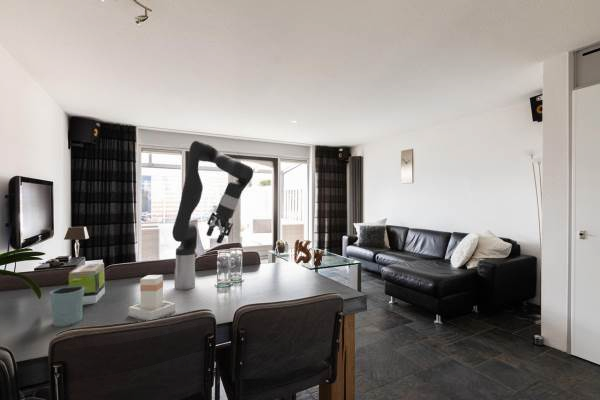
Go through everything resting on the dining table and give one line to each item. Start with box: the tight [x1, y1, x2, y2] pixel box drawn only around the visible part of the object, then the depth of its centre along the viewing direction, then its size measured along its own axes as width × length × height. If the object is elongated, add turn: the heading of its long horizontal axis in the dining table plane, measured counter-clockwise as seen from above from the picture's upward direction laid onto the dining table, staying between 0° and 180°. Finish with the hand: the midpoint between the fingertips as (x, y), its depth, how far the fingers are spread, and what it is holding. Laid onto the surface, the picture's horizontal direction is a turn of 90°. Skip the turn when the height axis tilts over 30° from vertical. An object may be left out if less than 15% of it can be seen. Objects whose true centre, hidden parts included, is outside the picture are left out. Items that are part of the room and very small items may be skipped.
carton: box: [139, 274, 164, 311], centre depth 117 cm, size 6×6×14 cm
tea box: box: [68, 262, 106, 306], centre depth 134 cm, size 15×10×15 cm
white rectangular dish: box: [128, 300, 176, 321], centre depth 117 cm, size 13×11×4 cm
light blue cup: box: [49, 286, 84, 327], centre depth 110 cm, size 10×10×12 cm
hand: (213, 239), depth 131 cm, fingers open, 8 cm apart
